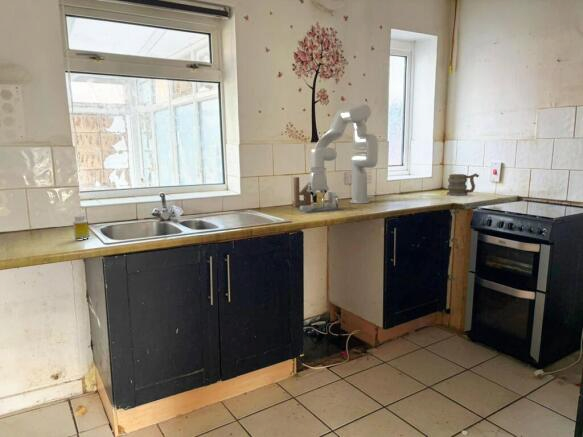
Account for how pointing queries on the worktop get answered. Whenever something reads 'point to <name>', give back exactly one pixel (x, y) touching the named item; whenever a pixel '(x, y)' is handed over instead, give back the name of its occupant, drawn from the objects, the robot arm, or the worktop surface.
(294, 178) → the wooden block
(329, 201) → the trammel beam
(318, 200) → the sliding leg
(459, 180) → the tankard
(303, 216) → the worktop surface
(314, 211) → the bolt plate
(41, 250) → the worktop surface
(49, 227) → the worktop surface
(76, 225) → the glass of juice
